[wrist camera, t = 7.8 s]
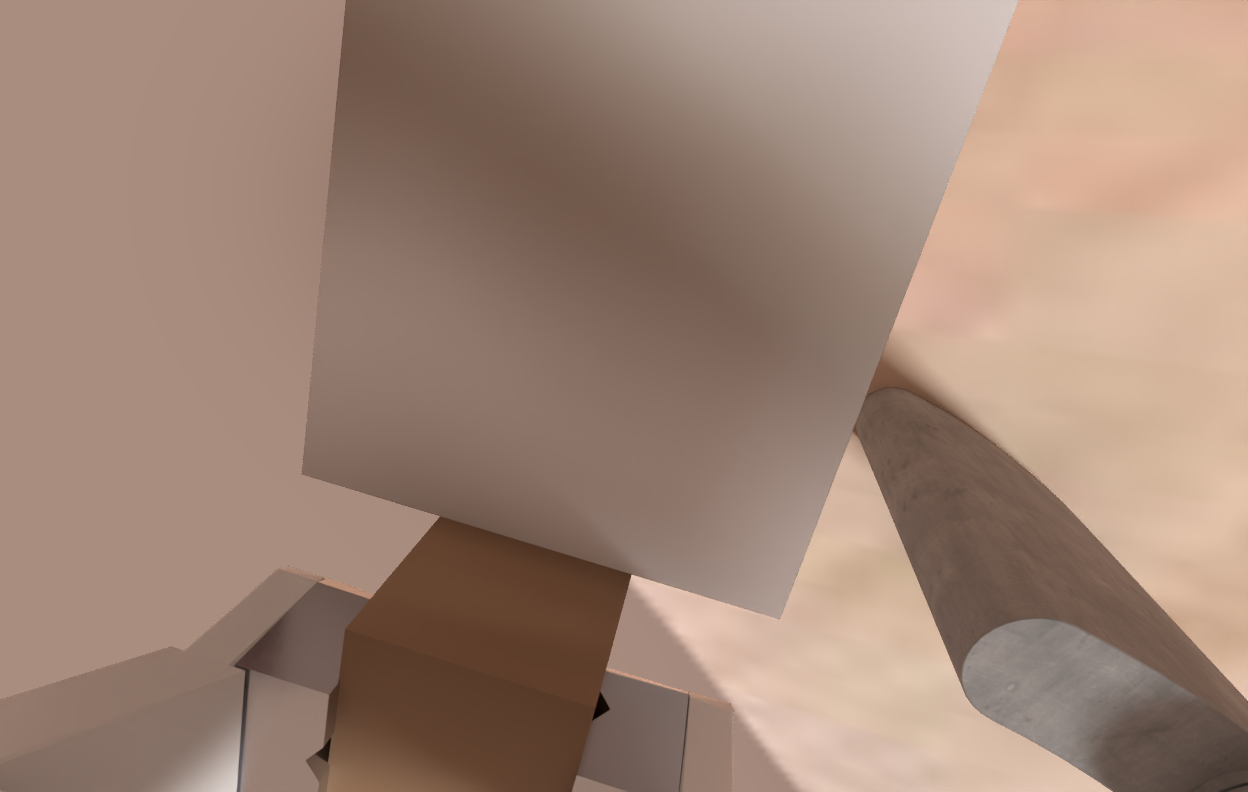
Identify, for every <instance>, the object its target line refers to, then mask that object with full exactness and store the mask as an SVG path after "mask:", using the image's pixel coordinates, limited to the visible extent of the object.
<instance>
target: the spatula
mask: <svg viewBox="0 0 1248 792" xmlns="http://www.w3.org/2000/svg"><path fill="white" fill-rule="evenodd" d="M1017 3H1018V0H346V5H345V16H344V27H343V37H342V49H341V59H340V69H339V80H338V91H337V101H336V112H335V123H334V134H333V144H332V156H331V167H330V177H329V187H328V198H327V210H326V220H325V230H324V241H323V252H322V263H321V273H320V285H319V295H318V306H317V317H316V328H315V338H314V348H313V359H312V371H311V382H310V392H309V402H308V413H307V424H306V434H305V435H306V436H305V445H304V456H303V467H302V474H303V475H306V476H310V477H313V478H316V479H319V480H323V481H326V482H329V483H332V484H336V485H339V486H342V487H345V488H349V489H352V490H355V491H359V492H362V493H365V494H369V495H372V496H375V497H379V498H382V499H385V500H389V501H392V502H395V503H398V504H401V505H405V506H408V507H411V508H415V509H418V510H421V511H425V512H428V513H431V514H435V515H438V516H440V517H439V519H438V520H437V521H436V522H435V523H434V524H433V526H432V527H431V528H430V529H429V531H428V532H427V533H426V534H425V535H424V536H423V537H422V539H421V540H420V541H419V542H418V543H417V545H416V546H415V547H414V548H413V549H412V551H411V552H410V553H409V554H408V555H407V556H406V558H405V559H404V560H403V561H402V562H401V563H400V565H399V566H398V567H397V568H396V569H395V571H394V572H393V573H392V574H391V575H390V576H389V578H388V579H387V580H386V581H385V582H384V583H383V585H382V586H381V587H380V588H379V589H378V591H377V592H376V593H375V594H374V595H373V596H372V598H371V599H370V600H369V601H368V602H367V604H366V605H365V606H364V607H363V608H362V609H361V611H360V612H359V613H358V614H357V615H356V617H355V618H354V619H353V620H352V621H351V622H350V624H349V625H348V626H347V627H346V628H345V633H344V641H343V649H342V657H341V665H340V673H339V680H340V688H339V696H338V705H337V714H336V722H335V731H334V733H333V735H332V736H331V743H330V751H329V759H328V764H329V765H330V770H329V777H328V785H327V792H571V790H572V787H573V784H574V780H575V777H576V773H577V770H578V766H579V763H580V760H581V756H582V753H583V749H584V746H585V742H586V739H587V735H588V732H589V729H590V725H591V722H592V718H593V715H594V711H595V708H596V704H597V701H598V697H599V693H600V689H601V686H602V682H603V678H604V675H605V671H606V667H607V663H608V660H609V656H610V652H611V648H612V645H613V641H614V637H615V634H616V630H617V626H618V622H619V619H620V615H621V611H622V608H623V604H624V600H625V596H626V593H627V589H628V586H629V582H630V578H631V574H632V575H635V576H639V577H642V578H645V579H649V580H652V581H655V582H659V583H662V584H665V585H668V586H672V587H675V588H678V589H682V590H685V591H688V592H691V593H695V594H698V595H701V596H705V597H708V598H711V599H715V600H718V601H721V602H724V603H728V604H731V605H734V606H738V607H741V608H744V609H748V610H751V611H754V612H757V613H761V614H764V615H767V616H771V617H774V618H777V619H780V618H781V615H782V613H783V610H784V607H785V605H786V602H787V600H788V597H789V594H790V592H791V589H792V587H793V584H794V581H795V579H796V576H797V574H798V571H799V568H800V566H801V563H802V561H803V558H804V555H805V553H806V550H807V548H808V545H809V543H810V540H811V537H812V535H813V532H814V530H815V527H816V524H817V522H818V519H819V517H820V514H821V511H822V509H823V506H824V504H825V501H826V498H827V496H828V493H829V491H830V488H831V485H832V483H833V480H834V478H835V475H836V472H837V470H838V467H839V465H840V462H841V460H842V457H843V454H844V452H845V449H846V447H847V444H848V441H849V439H850V436H851V434H852V431H853V428H854V426H855V423H856V421H857V418H858V415H859V413H860V410H861V408H862V405H863V402H864V400H865V397H866V395H867V392H868V389H869V387H870V384H871V382H872V379H873V377H874V374H875V371H876V369H877V366H878V364H879V361H880V358H881V356H882V353H883V351H884V348H885V345H886V343H887V340H888V338H889V335H890V332H891V330H892V327H893V325H894V322H895V319H896V317H897V314H898V312H899V309H900V306H901V304H902V301H903V299H904V296H905V294H906V291H907V288H908V286H909V283H910V281H911V278H912V275H913V273H914V270H915V268H916V265H917V262H918V260H919V257H920V255H921V252H922V249H923V247H924V244H925V242H926V239H927V236H928V234H929V231H930V229H931V226H932V223H933V221H934V218H935V216H936V213H937V211H938V208H939V205H940V203H941V200H942V198H943V195H944V192H945V190H946V187H947V185H948V182H949V179H950V177H951V174H952V172H953V169H954V166H955V164H956V161H957V159H958V156H959V153H960V151H961V148H962V146H963V143H964V140H965V138H966V135H967V133H968V130H969V128H970V125H971V122H972V120H973V117H974V115H975V112H976V109H977V107H978V104H979V102H980V99H981V96H982V94H983V91H984V89H985V86H986V83H987V81H988V78H989V76H990V73H991V70H992V68H993V65H994V63H995V60H996V57H997V55H998V52H999V50H1000V47H1001V45H1002V42H1003V39H1004V37H1005V34H1006V32H1007V29H1008V26H1009V24H1010V21H1011V19H1012V16H1013V13H1014V11H1015V8H1016V6H1017Z"/></svg>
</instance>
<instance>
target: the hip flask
mask: <svg viewBox="0 0 1248 792" xmlns="http://www.w3.org/2000/svg"><path fill="white" fill-rule="evenodd" d="M855 429H856V432H857V434H858V436H859V439H860V441H861V444H862V446H863V449H864V451H865V453H866V456H867V458H868V461H869V463H870V465H871V468H872V470H873V473H874V475H875V478H876V480H877V482H878V485H879V487H880V490H881V492H882V494H883V497H884V499H885V502H886V504H887V507H888V509H889V511H890V514H891V516H892V519H893V521H894V523H895V526H896V528H897V531H898V533H899V536H900V538H901V540H902V543H903V545H904V548H905V550H906V552H907V555H908V557H909V560H910V562H911V565H912V567H913V569H914V572H915V574H916V577H917V579H918V581H919V584H920V586H921V589H922V591H923V594H924V596H925V598H926V601H927V603H928V606H929V608H930V610H931V613H932V615H933V618H934V620H935V623H936V625H937V627H938V630H939V632H940V635H941V637H942V639H943V642H944V644H945V647H946V649H947V652H948V654H949V656H950V659H951V661H952V664H953V666H954V668H955V671H956V673H957V676H958V678H959V681H960V683H961V685H962V688H963V690H964V693H965V695H966V697H967V698H968V700H969V701H970V703H971V704H972V705H973V706H974V707H975V708H976V709H977V710H978V711H979V712H980V713H981V714H983V715H985V716H986V717H988V718H989V719H991V720H993V721H995V722H997V723H999V724H1000V725H1002V726H1004V727H1006V728H1008V729H1010V730H1012V731H1014V732H1016V733H1018V734H1020V735H1021V736H1023V737H1025V738H1027V739H1029V740H1031V741H1032V742H1034V743H1036V744H1038V745H1039V746H1041V747H1043V748H1045V749H1046V750H1048V751H1050V752H1052V753H1053V754H1055V755H1057V756H1059V757H1060V758H1062V759H1064V760H1065V761H1067V762H1068V763H1070V764H1072V765H1073V766H1075V767H1076V768H1078V769H1079V770H1081V771H1083V772H1084V773H1086V774H1087V775H1089V776H1091V777H1092V778H1094V779H1095V780H1097V781H1098V782H1100V783H1101V784H1103V785H1104V786H1106V787H1107V788H1108V789H1110V790H1111V791H1113V792H1248V701H1247V700H1246V699H1245V698H1244V696H1243V695H1242V694H1241V693H1240V692H1239V691H1238V690H1237V689H1236V688H1235V687H1234V686H1233V685H1232V683H1231V682H1230V681H1229V680H1228V679H1227V678H1226V677H1225V676H1224V675H1223V674H1222V673H1221V672H1220V671H1219V669H1218V668H1217V667H1216V666H1215V665H1214V664H1213V663H1212V662H1211V661H1210V660H1209V659H1208V658H1207V657H1206V655H1205V654H1204V653H1203V652H1202V651H1201V650H1200V649H1199V648H1198V647H1197V646H1196V645H1195V644H1194V643H1193V641H1192V640H1191V639H1190V638H1189V637H1188V636H1187V635H1186V634H1185V633H1184V632H1183V631H1182V630H1181V629H1180V627H1179V626H1178V625H1177V624H1176V623H1175V622H1174V621H1173V620H1172V619H1171V618H1170V617H1169V616H1168V615H1167V613H1166V612H1165V611H1164V610H1163V609H1162V608H1161V607H1160V606H1159V605H1158V604H1157V603H1156V602H1155V601H1154V599H1153V598H1152V597H1151V596H1150V595H1149V594H1148V593H1147V592H1146V591H1145V590H1144V589H1143V588H1142V587H1141V585H1140V584H1139V583H1138V582H1137V581H1136V580H1135V579H1134V578H1133V577H1132V576H1131V575H1130V574H1129V573H1128V571H1127V570H1126V569H1125V568H1124V567H1123V566H1122V565H1121V564H1120V563H1119V562H1118V561H1117V560H1116V559H1115V557H1114V556H1113V555H1112V554H1111V553H1110V552H1109V551H1108V550H1107V549H1106V548H1105V547H1104V546H1103V545H1102V543H1101V542H1100V541H1099V540H1098V539H1097V538H1096V537H1095V536H1094V535H1093V534H1092V533H1091V532H1090V531H1089V529H1088V528H1087V527H1086V526H1085V525H1084V524H1083V523H1082V522H1081V521H1080V520H1079V519H1078V518H1077V517H1076V516H1075V515H1074V514H1073V513H1072V511H1071V510H1070V509H1069V508H1068V507H1067V506H1066V505H1065V504H1064V503H1063V502H1062V501H1061V500H1060V499H1058V498H1057V497H1056V496H1055V495H1054V494H1053V493H1052V492H1051V491H1050V490H1049V489H1048V488H1047V487H1046V486H1044V485H1043V484H1042V483H1041V482H1040V481H1039V480H1038V479H1036V478H1035V477H1034V476H1033V475H1032V474H1031V473H1029V472H1028V471H1027V470H1026V469H1025V468H1023V467H1022V466H1021V465H1020V464H1019V463H1017V462H1016V461H1015V460H1014V459H1013V458H1011V457H1010V456H1009V455H1008V454H1006V453H1005V452H1004V451H1002V450H1001V449H1000V448H998V447H997V446H996V445H995V444H993V443H992V442H990V441H989V440H988V439H986V438H985V437H983V436H982V435H980V434H979V433H978V432H976V431H975V430H973V429H972V428H970V427H969V426H967V425H966V424H964V423H963V422H961V421H960V420H958V419H957V418H955V417H954V416H952V415H950V414H948V413H947V412H945V411H943V410H942V409H940V408H938V407H937V406H935V405H933V404H931V403H930V402H928V401H926V400H924V399H922V398H920V397H918V396H917V395H915V394H913V393H911V392H909V391H906V390H904V389H899V388H885V389H881V390H878V391H875V392H874V393H872V394H870V395H869V396H867V397H866V398H865V400H864V402H863V405H862V408H861V410H860V413H859V415H858V418H857V421H856V423H855Z"/></svg>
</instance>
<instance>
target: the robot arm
mask: <svg viewBox="0 0 1248 792" xmlns="http://www.w3.org/2000/svg"><path fill="white" fill-rule="evenodd" d="M373 595H374V594H373V593H370V592H367V591H364V590H361V589H358V588H355V587H352V586H349V585H346V584H344V583H340V582H338V581H335V580H332V579H329V578H327V579H325V578H323V577H320V576H318V575H314V574H311V573H309V572H306V571H303V570H300V569H297V568H294V567H291V566H287V567H283V568H280V569H277V570H275V571H274V572H273V573H272V574H271V575H270V576H268V577H267V578H266V579H265V580H264V581H263V582H262V583H260V584H259V585H258V586H257V587H256V588H255V589H254V590H252V591H251V592H250V593H249V594H248V595H247V596H245V597H244V598H243V599H242V600H241V601H240V602H239V603H238V604H236V605H235V606H234V607H233V608H232V609H231V610H229V611H228V612H227V613H226V614H225V615H224V616H223V617H221V618H220V619H219V620H218V621H217V622H216V623H215V624H213V625H212V626H211V627H210V628H209V629H208V630H207V631H205V632H204V633H203V634H202V635H201V636H200V637H199V638H197V639H196V640H195V641H194V642H193V643H192V644H191V645H189V647H187V648H186V649H185V650H180V649H177V648H174V647H168V648H165V649H161V650H158V651H155V652H152V653H149V654H146V655H142V656H139V657H136V658H132V659H129V660H126V661H123V662H120V663H116V664H113V665H110V666H107V667H103V668H101V669H97V670H94V671H91V672H88V673H85V674H81V675H78V676H75V677H71V678H68V679H65V680H62V681H59V682H56V683H52V684H49V685H46V686H43V687H39V688H36V689H33V690H30V691H26V692H23V693H20V694H17V695H13V696H10V697H7V698H4V699H1V700H0V792H327V785H328V777H329V770H330V765H329V764H328V759H329V751H330V743H331V736H332V735H333V733H334V731H335V722H336V714H337V705H338V696H339V688H340V680H339V673H340V665H341V657H342V649H343V641H344V633H345V628H346V627H347V626H348V625H349V624H350V622H351V621H352V620H353V619H354V618H355V617H356V615H357V614H358V613H359V612H360V611H361V609H362V608H363V607H364V606H365V605H366V604H367V602H368V601H369V600H370V599H371V598H372V596H373ZM733 732H734V710H733V708H732V706H731V703H727V702H724V701H720V700H717V699H713V698H710V697H706V696H703V695H700V694H696V693H693V692H688V693H687V692H685V691H682V690H679V689H676V688H673V687H669V686H666V685H663V684H659V683H656V682H653V681H650V680H646V679H643V678H640V677H636V676H633V675H630V674H626V673H623V672H620V671H617V670H613V669H610V668H607V667H606V671H605V675H604V678H603V682H602V686H601V689H600V693H599V697H598V701H597V704H596V708H595V711H594V715H593V718H592V722H591V725H590V729H589V732H588V735H587V739H586V742H585V746H584V749H583V753H582V756H581V760H580V763H579V766H578V770H577V773H576V777H575V780H574V784H573V787H572V790H571V792H733V739H734V736H733V735H734V733H733Z"/></svg>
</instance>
